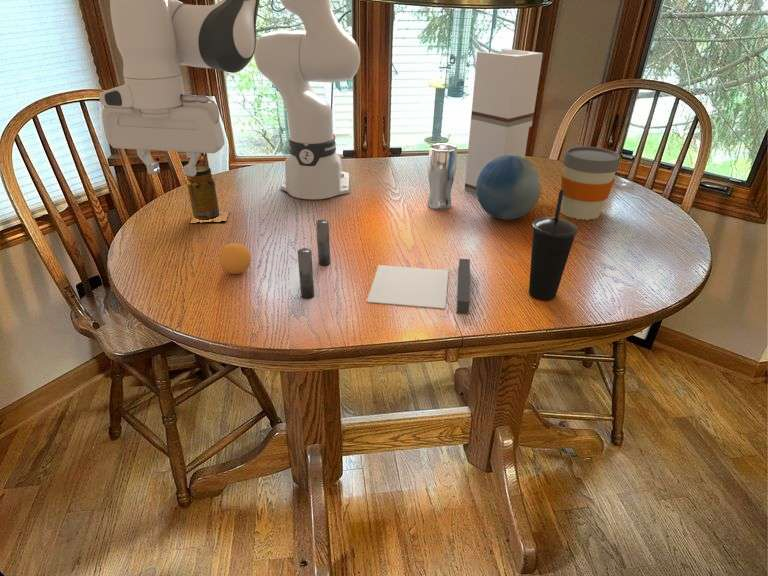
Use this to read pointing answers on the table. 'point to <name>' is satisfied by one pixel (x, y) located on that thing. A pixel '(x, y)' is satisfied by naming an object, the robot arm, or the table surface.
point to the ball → (234, 258)
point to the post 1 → (306, 273)
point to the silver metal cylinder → (441, 175)
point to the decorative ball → (508, 187)
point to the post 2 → (323, 242)
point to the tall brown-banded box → (501, 108)
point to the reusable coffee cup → (587, 180)
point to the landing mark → (409, 287)
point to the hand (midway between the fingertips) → (172, 174)
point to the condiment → (203, 194)
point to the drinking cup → (550, 253)
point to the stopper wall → (463, 286)
